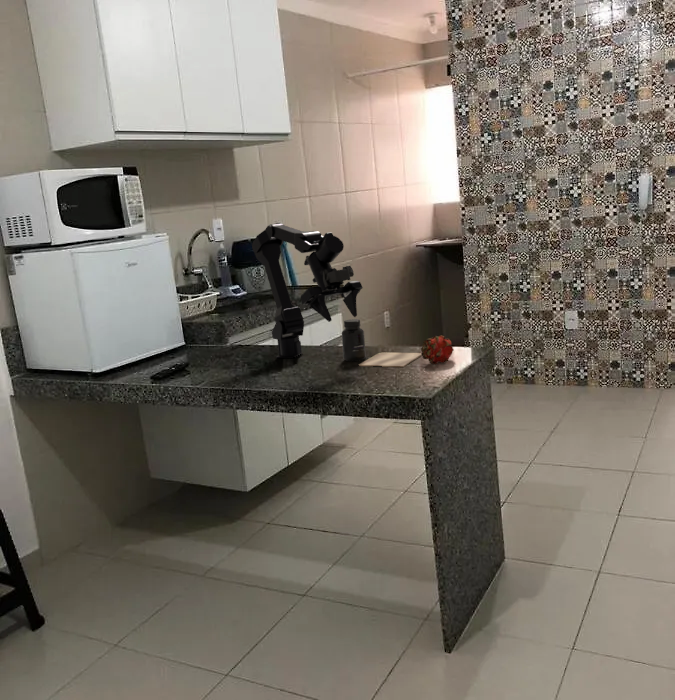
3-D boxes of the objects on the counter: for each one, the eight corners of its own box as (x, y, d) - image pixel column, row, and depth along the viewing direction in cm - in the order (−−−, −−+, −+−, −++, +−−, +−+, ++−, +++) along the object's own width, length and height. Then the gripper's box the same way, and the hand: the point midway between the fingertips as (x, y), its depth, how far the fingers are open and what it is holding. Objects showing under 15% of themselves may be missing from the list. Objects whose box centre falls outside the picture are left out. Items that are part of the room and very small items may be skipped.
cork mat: (358, 366, 216) (358, 364, 216) (380, 353, 230) (380, 352, 230) (403, 367, 210) (403, 365, 210) (423, 354, 224) (423, 353, 224)
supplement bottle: (360, 362, 221) (357, 322, 219) (339, 361, 224) (336, 322, 222) (369, 356, 227) (366, 318, 225) (349, 356, 230) (346, 318, 228)
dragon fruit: (423, 373, 208) (446, 369, 217) (445, 357, 203) (467, 353, 212) (409, 347, 211) (432, 344, 220) (430, 330, 206) (453, 328, 215)
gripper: (309, 259, 203) (331, 310, 199) (361, 253, 214) (383, 301, 210) (291, 279, 211) (311, 328, 207) (342, 272, 222) (362, 319, 219)
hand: (343, 318), depth 211 cm, fingers open, 9 cm apart
